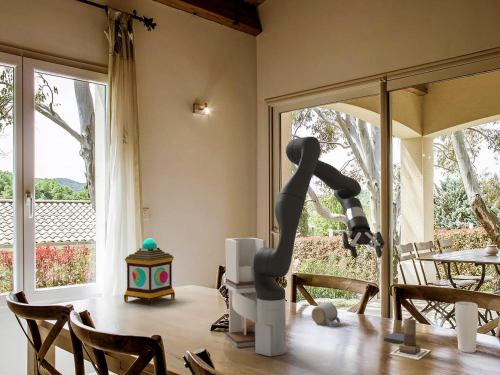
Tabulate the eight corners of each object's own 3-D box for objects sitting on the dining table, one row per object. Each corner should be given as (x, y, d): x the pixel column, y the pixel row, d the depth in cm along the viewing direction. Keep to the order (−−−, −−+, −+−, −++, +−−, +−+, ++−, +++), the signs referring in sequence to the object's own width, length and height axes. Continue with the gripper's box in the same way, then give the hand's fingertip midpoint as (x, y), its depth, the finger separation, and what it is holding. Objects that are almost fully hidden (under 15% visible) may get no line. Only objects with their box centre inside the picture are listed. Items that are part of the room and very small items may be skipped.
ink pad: (403, 344, 165) (403, 341, 165) (383, 340, 170) (383, 337, 170) (413, 338, 172) (413, 335, 172) (394, 335, 177) (394, 332, 177)
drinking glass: (459, 346, 163) (458, 300, 163) (481, 350, 159) (480, 303, 159) (452, 351, 158) (452, 304, 158) (475, 355, 153) (474, 307, 154)
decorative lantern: (179, 299, 241) (178, 237, 242) (150, 306, 225) (150, 240, 225) (148, 294, 252) (148, 236, 252) (119, 302, 235) (119, 239, 236)
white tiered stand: (226, 338, 174) (225, 238, 175) (254, 335, 178) (253, 237, 178) (236, 347, 163) (235, 241, 164) (266, 343, 167) (265, 240, 168)
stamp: (414, 355, 153) (414, 322, 153) (399, 352, 156) (398, 320, 157) (420, 351, 157) (420, 319, 157) (405, 348, 160) (405, 317, 160)
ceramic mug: (310, 323, 194) (310, 303, 194) (322, 319, 199) (322, 300, 199) (332, 328, 186) (332, 308, 186) (344, 324, 192) (344, 304, 192)
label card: (418, 360, 149) (418, 359, 150) (389, 354, 155) (389, 353, 155) (430, 351, 158) (430, 350, 158) (403, 345, 164) (403, 344, 164)
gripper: (340, 215, 180) (350, 250, 168) (378, 214, 181) (390, 249, 170) (336, 229, 185) (345, 263, 173) (373, 228, 186) (385, 263, 175)
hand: (368, 256), depth 171 cm, fingers open, 8 cm apart
